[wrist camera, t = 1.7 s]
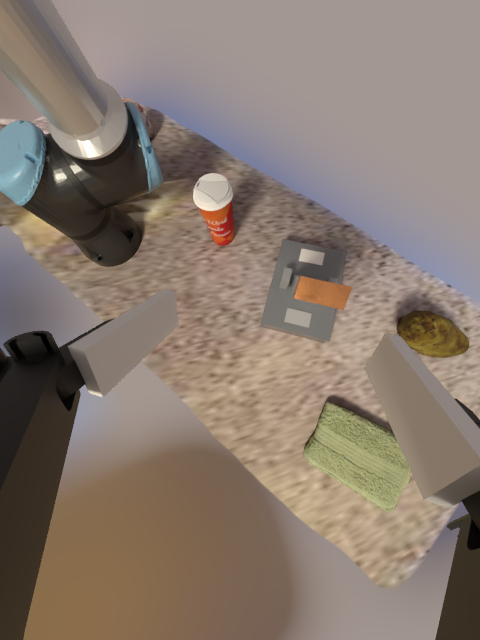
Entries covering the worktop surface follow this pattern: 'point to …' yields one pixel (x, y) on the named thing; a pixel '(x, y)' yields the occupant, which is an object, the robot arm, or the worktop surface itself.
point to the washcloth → (359, 456)
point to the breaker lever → (320, 291)
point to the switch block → (281, 304)
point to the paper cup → (216, 206)
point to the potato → (432, 334)
